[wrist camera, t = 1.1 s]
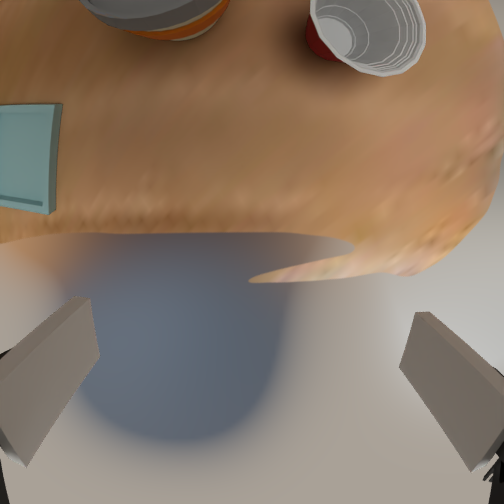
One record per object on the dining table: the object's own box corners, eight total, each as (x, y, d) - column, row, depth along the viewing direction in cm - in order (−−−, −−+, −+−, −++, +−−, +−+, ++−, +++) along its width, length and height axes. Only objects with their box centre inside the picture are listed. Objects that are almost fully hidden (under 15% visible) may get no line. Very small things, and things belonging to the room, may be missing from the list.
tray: (-1, 105, 26) (-10, 106, 24) (62, 103, 28) (54, 104, 26) (-4, 199, 32) (-11, 203, 30) (55, 209, 34) (48, 214, 32)
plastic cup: (315, 98, 30) (356, 96, 20) (264, 20, 26) (282, -19, 15) (388, 63, 28) (448, 55, 18) (343, -10, 24) (387, -47, 13)
